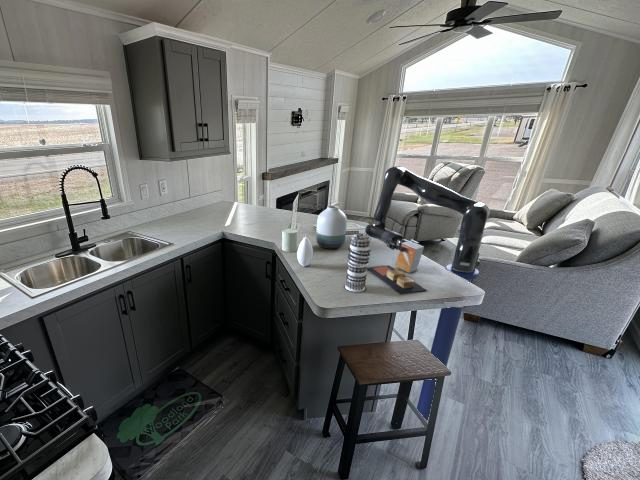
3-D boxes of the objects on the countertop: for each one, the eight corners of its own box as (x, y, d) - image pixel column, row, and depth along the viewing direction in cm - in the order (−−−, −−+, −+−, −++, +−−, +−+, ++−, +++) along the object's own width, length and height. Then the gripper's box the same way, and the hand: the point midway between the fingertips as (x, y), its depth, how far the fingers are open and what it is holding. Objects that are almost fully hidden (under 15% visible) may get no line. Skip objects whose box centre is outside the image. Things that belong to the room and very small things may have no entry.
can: (299, 247, 197) (299, 228, 192) (294, 252, 190) (295, 232, 185) (284, 245, 201) (284, 227, 196) (279, 250, 193) (279, 231, 188)
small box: (394, 266, 165) (401, 243, 159) (402, 263, 168) (409, 240, 162) (409, 273, 159) (416, 249, 153) (417, 270, 162) (424, 246, 156)
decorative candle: (345, 291, 144) (351, 237, 134) (343, 282, 152) (348, 231, 142) (367, 293, 142) (374, 238, 132) (363, 283, 151) (370, 231, 141)
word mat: (388, 266, 168) (388, 265, 167) (425, 290, 142) (426, 289, 142) (366, 268, 166) (367, 267, 166) (400, 294, 141) (401, 292, 140)
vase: (331, 253, 187) (335, 211, 178) (309, 245, 200) (311, 206, 190) (350, 246, 196) (354, 206, 186) (328, 239, 209) (331, 202, 199)
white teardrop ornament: (293, 265, 172) (294, 233, 165) (303, 261, 177) (305, 229, 170) (305, 270, 167) (307, 236, 160) (315, 265, 171) (317, 232, 164)
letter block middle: (396, 275, 157) (397, 269, 155) (402, 279, 152) (403, 273, 151) (386, 276, 156) (387, 270, 155) (392, 280, 151) (393, 274, 150)
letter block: (406, 282, 149) (407, 276, 148) (413, 287, 145) (414, 281, 144) (396, 283, 149) (397, 277, 147) (403, 288, 144) (404, 282, 143)
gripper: (380, 233, 170) (399, 243, 155) (405, 231, 172) (426, 240, 157) (378, 246, 173) (397, 257, 158) (403, 244, 175) (423, 255, 160)
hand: (411, 249), depth 158 cm, fingers closed on small box, 8 cm apart
